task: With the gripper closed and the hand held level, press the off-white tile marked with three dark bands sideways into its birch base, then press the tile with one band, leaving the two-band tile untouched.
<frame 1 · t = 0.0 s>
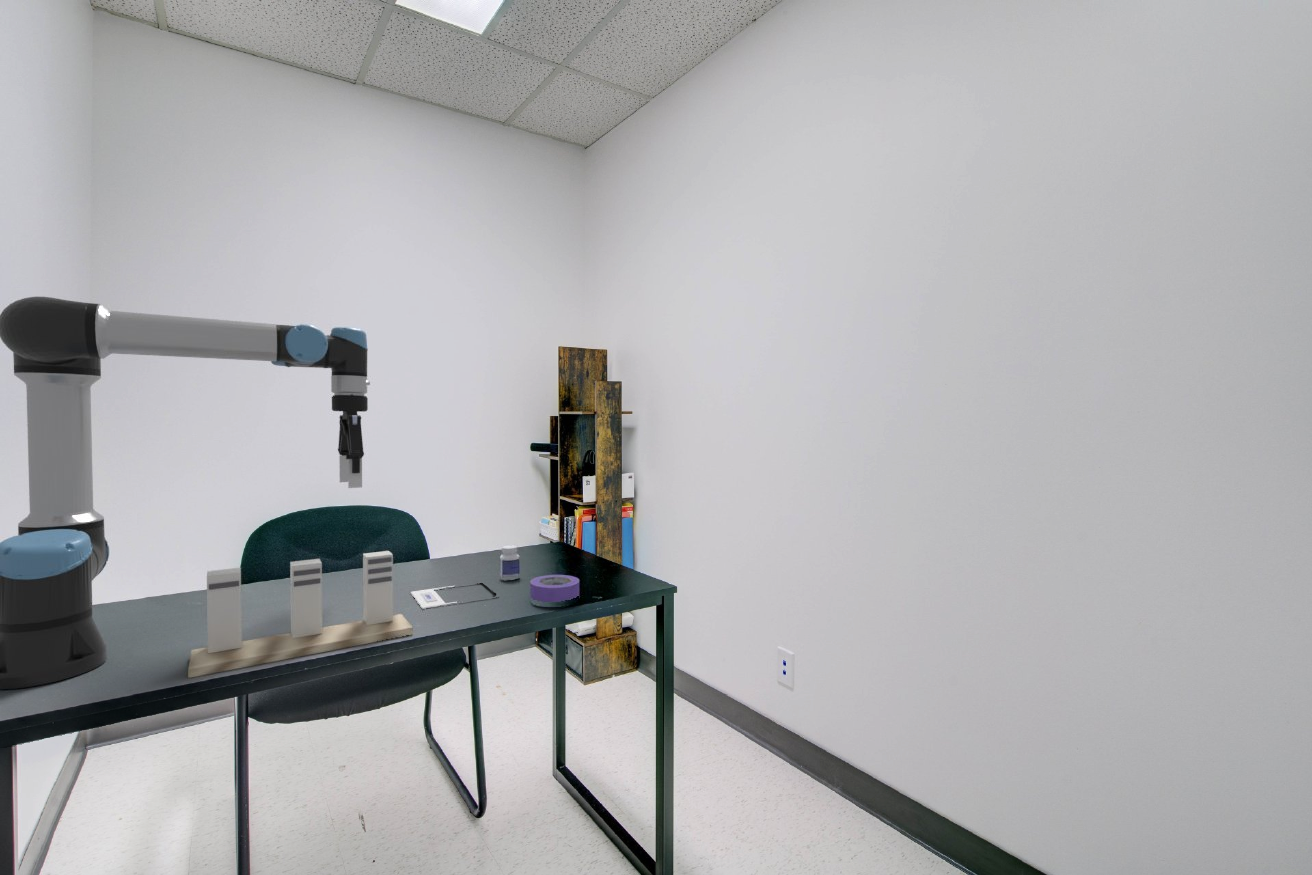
hand: (350, 484, 142), 28 cm above the table, tool pointing down, fingers open, 13 cm apart
key base: (308, 645, 115), on the table
pill bottle: (509, 579, 164), on the table
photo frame: (454, 598, 148), on the table
tile 2: (306, 597, 117), point 9 cm above the table, slide at 0.0 cm
tape roll: (554, 601, 145), on the table
tile 3: (378, 587, 125), point 9 cm above the table, slide at 0.0 cm
tile 1: (224, 609, 110), point 9 cm above the table, slide at 0.0 cm
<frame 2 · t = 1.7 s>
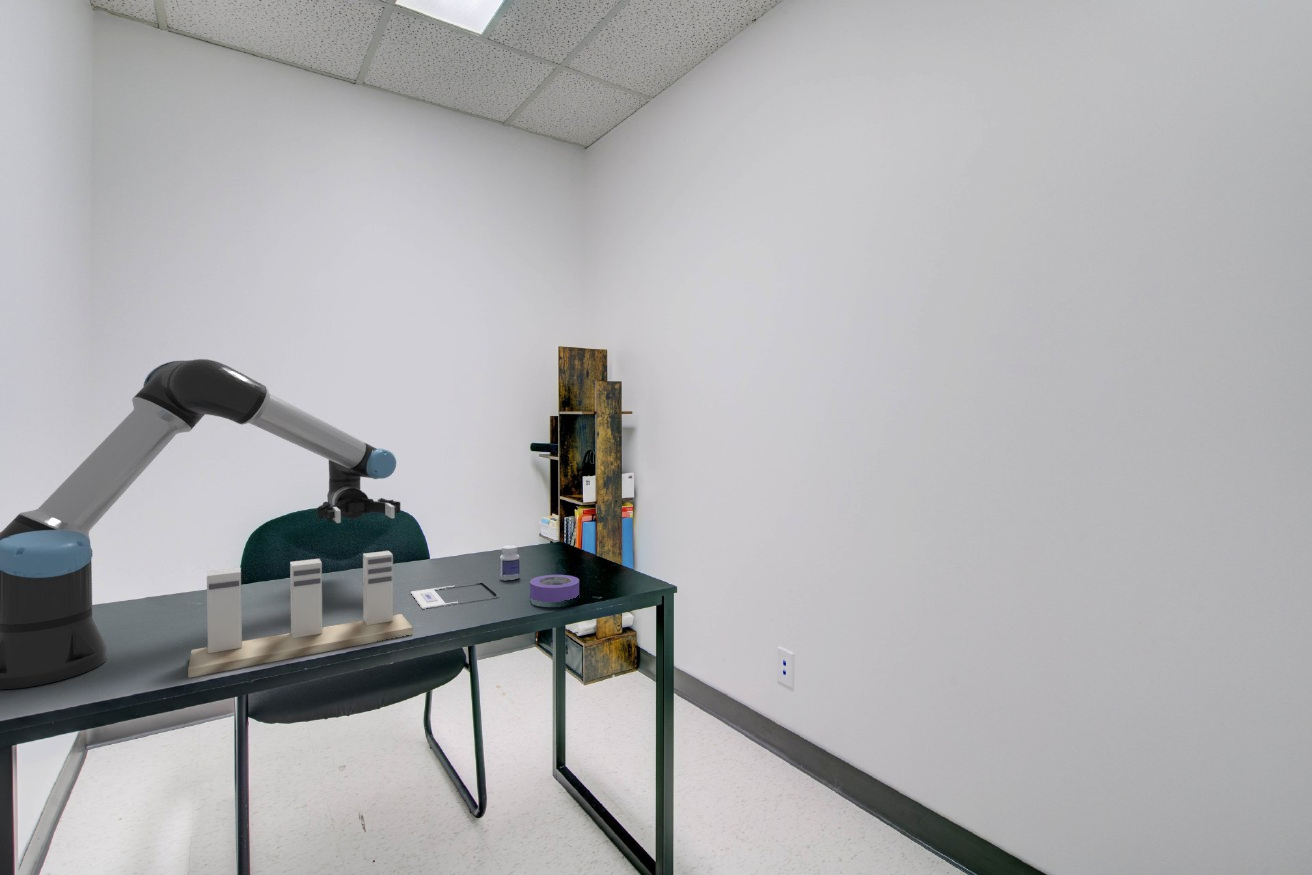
hand: (366, 514, 135), 22 cm above the table, tool horizontal, fingers open, 10 cm apart
nothing on the table moved.
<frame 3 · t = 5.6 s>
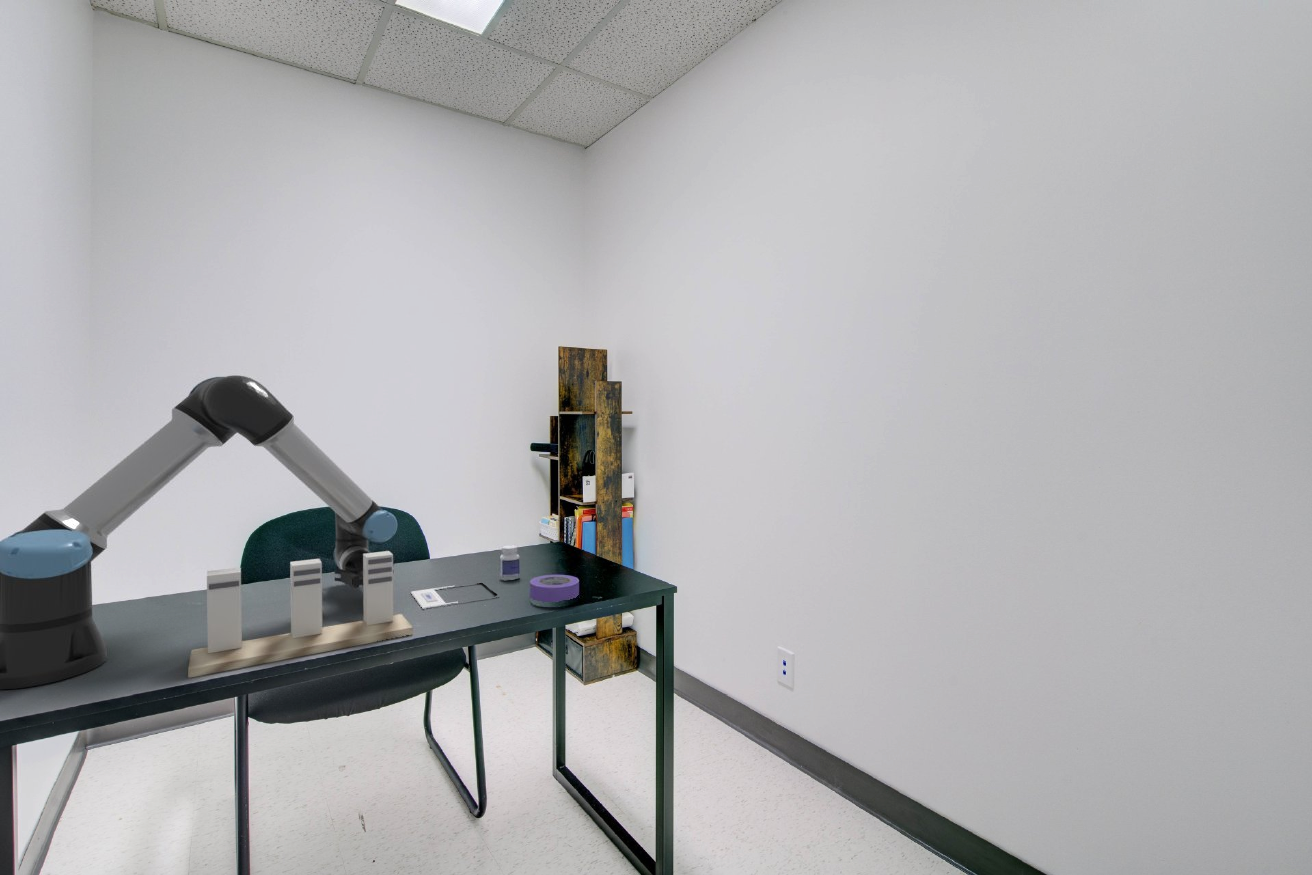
hand: (379, 587, 127), 8 cm above the table, tool horizontal, fingers closed
tile 3: (378, 587, 125), point 9 cm above the table, slide at 0.2 cm, touching gripper
everything else where it was.
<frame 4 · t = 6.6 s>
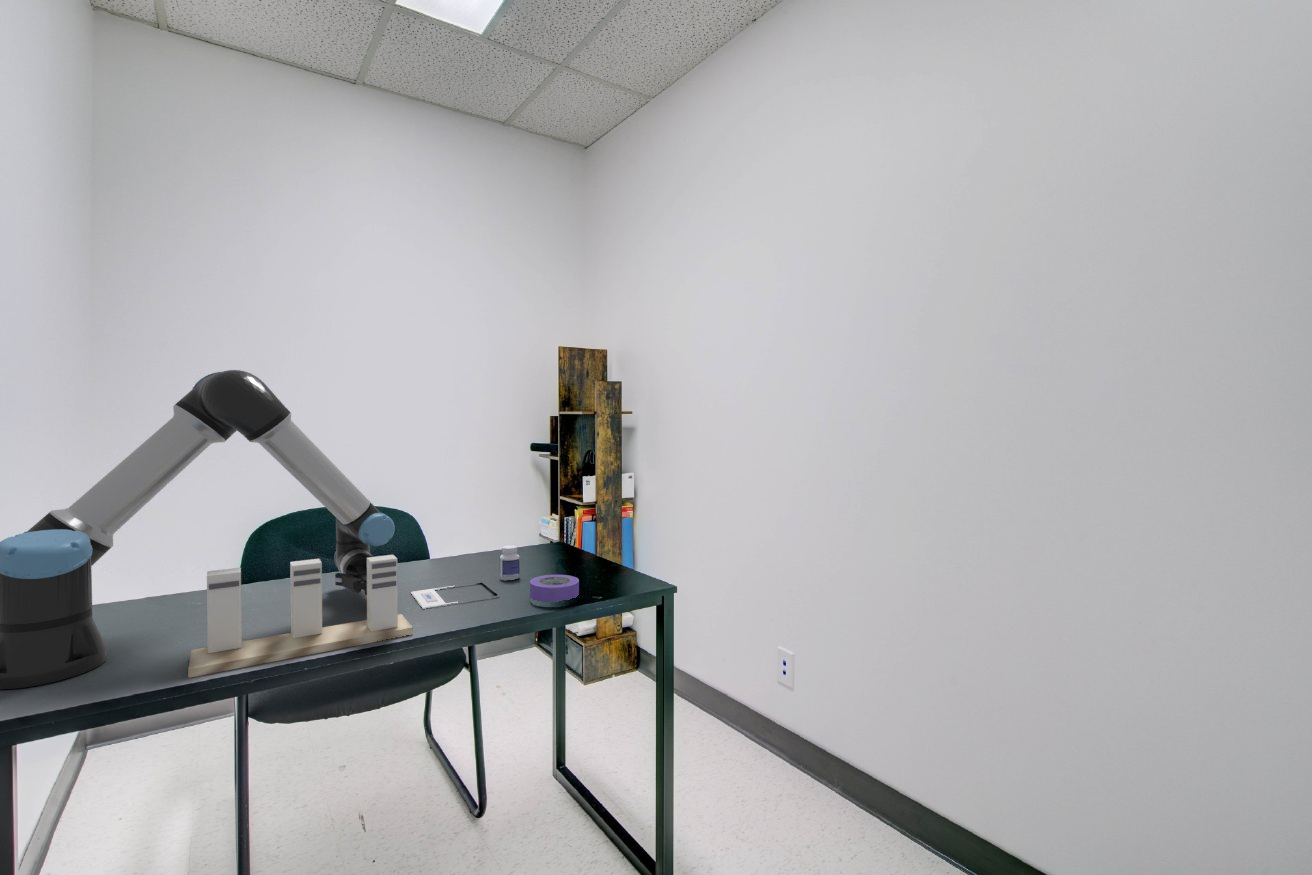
hand: (381, 592, 124), 8 cm above the table, tool horizontal, fingers closed
tile 3: (382, 592, 121), point 9 cm above the table, slide at 4.3 cm, touching gripper
everything else where it was.
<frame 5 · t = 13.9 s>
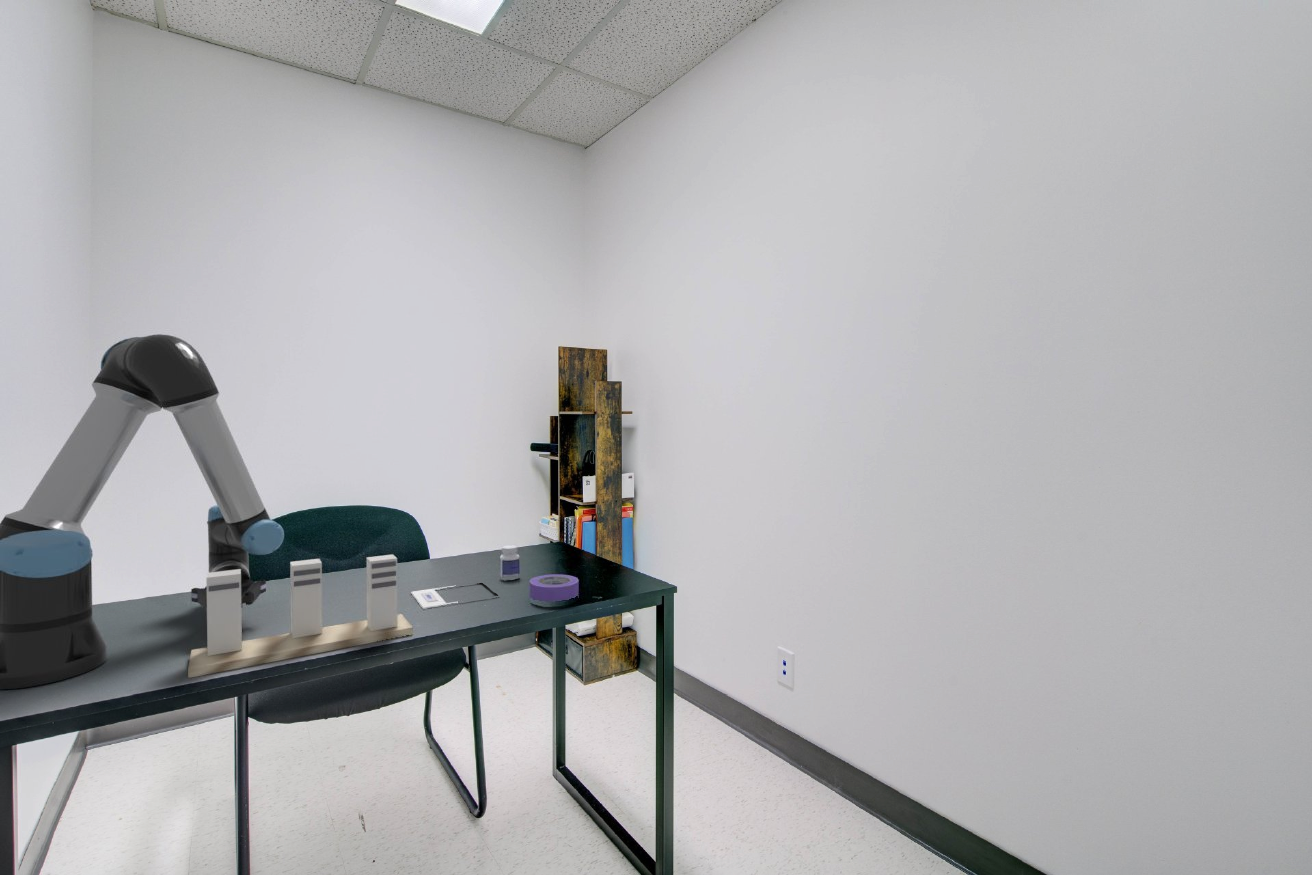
hand: (230, 610, 111), 8 cm above the table, tool horizontal, fingers closed
tile 3: (382, 592, 122), point 9 cm above the table, slide at 4.1 cm
tile 1: (224, 611, 109), point 9 cm above the table, slide at 1.4 cm, touching gripper
everything else where it was.
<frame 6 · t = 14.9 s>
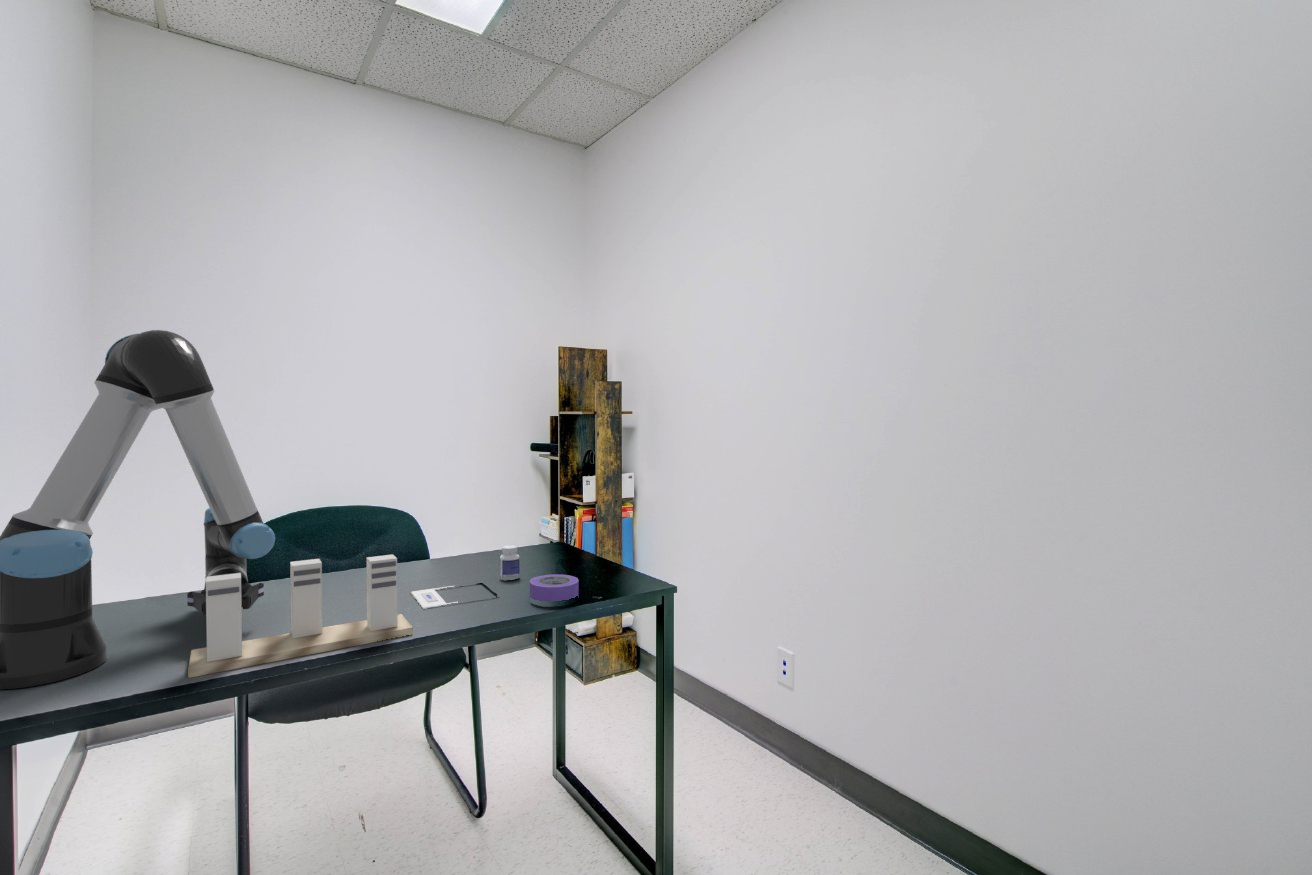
hand: (227, 615, 108), 8 cm above the table, tool horizontal, fingers closed
tile 1: (224, 616, 106), point 9 cm above the table, slide at 4.6 cm, touching gripper
everything else where it was.
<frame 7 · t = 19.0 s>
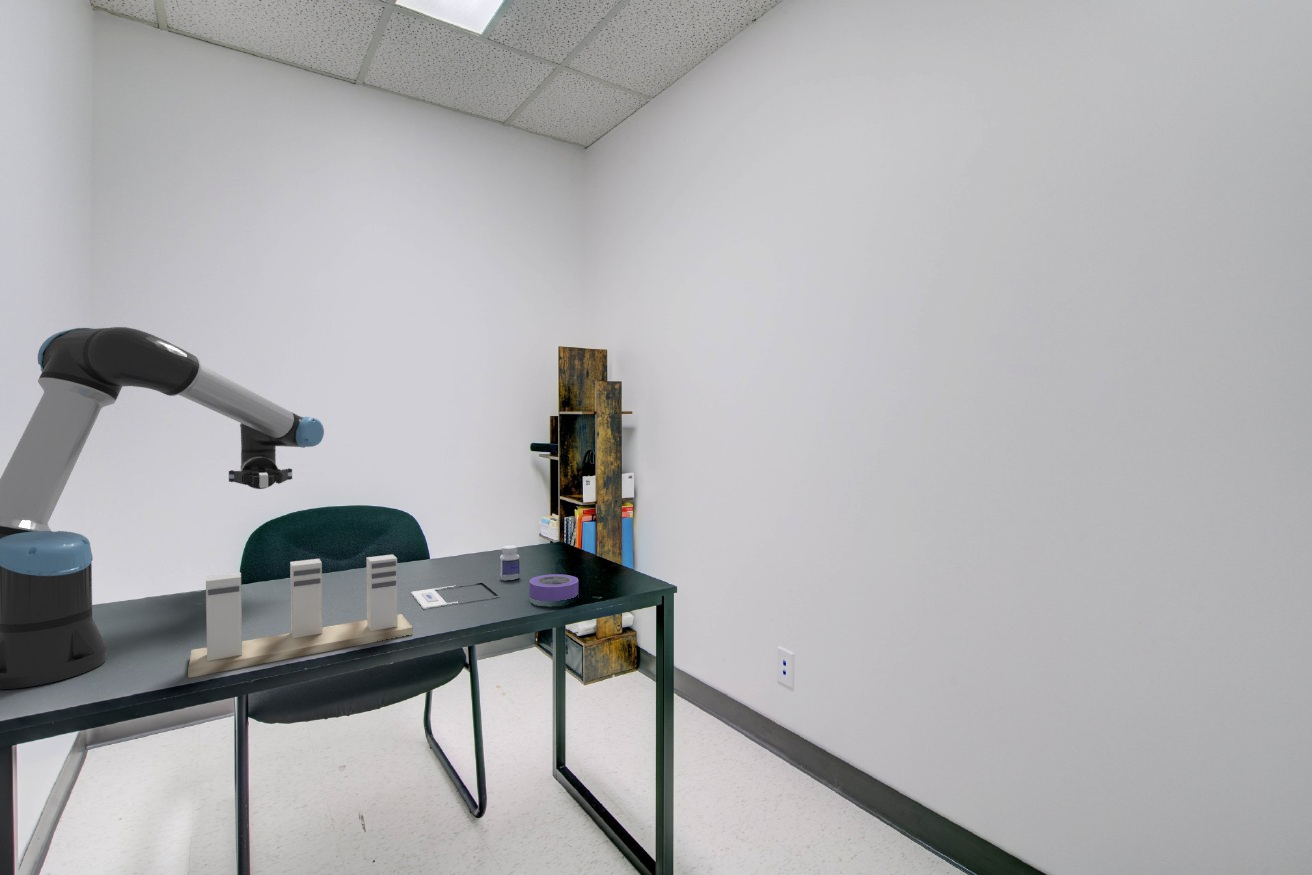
hand: (264, 481, 129), 30 cm above the table, tool horizontal, fingers closed
tile 1: (224, 615, 107), point 9 cm above the table, slide at 4.1 cm
everything else where it was.
at the end: tile 3 slide at 4.1 cm; tile 1 slide at 4.1 cm; tile 2 slide at 0.0 cm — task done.
